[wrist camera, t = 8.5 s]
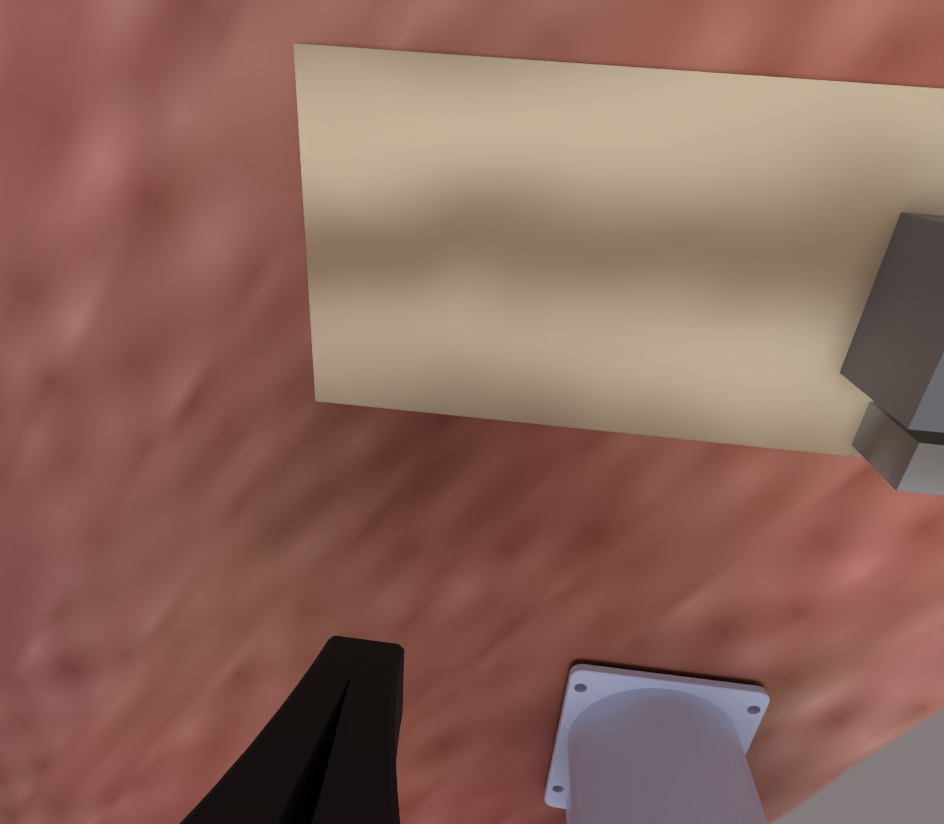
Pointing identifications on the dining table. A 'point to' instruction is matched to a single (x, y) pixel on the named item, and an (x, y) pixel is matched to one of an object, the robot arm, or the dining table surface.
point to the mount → (609, 245)
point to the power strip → (905, 327)
